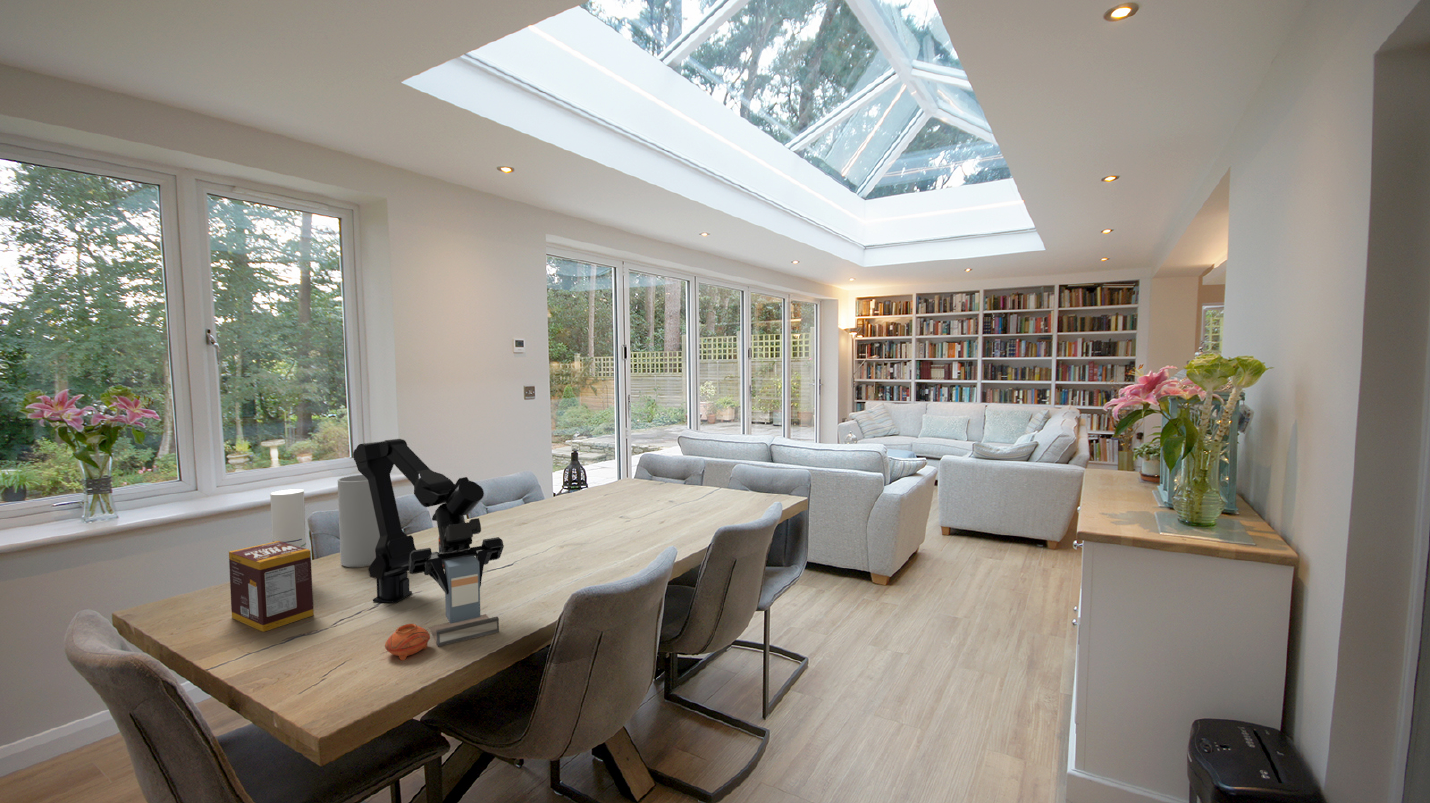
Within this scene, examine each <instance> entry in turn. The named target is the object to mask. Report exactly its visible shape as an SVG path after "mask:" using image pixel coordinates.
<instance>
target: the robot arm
mask: <svg viewBox="0 0 1430 803" xmlns="http://www.w3.org/2000/svg"><path fill="white" fill-rule="evenodd" d="M352 457H353V460H354V462H355V464H356V467H357V471H358V472H359V473H361V474H360V475H363V476H365V477H366V478H367V479H368V483H369V488H370V492H371V497H372V501H373V506H374V511H375V515H376V520H377V525H378V529H379V534H380V538H379V540H378V543H377V545H376V548H375V553H376V558H375V560H374V561H373V562H372V564H371V565H370V566H368V573H369V577H370V578H374V579H375V580H376V597H374V598H373V599H372V602H373V603H375V602H377V603H378V602H379V603H380V602H381V603H398V602H400V601H402V600H404V599H405V598H407V597H409V596H410V595H412V594H413V591H412V590H410V578H409V576H408V573H409V574H411V575H415V574H421V573H423V574H424V576H430V577H431V578H432V580H434V581H435V582H436V583H437V584H438V586H439V587H440V588H441V590H442V591H443V593H444V594H445V593H446V594H448V593H449V590H448V583H447V580H446V577H445V569H444V567H443V565H442V561H445V560H451V559H457V558H463V557H469V556H475V558H476V559H477V560H478V561H479V571H480V587H481V586H482V581H483V573H484V567H485V565H488V564H489V563H490V562H491V561H496V560H499V559H501V555H502V554H503V553H502V552H503V550H504V548H505V545H504V541H503V539H501V538H500V537H491V538H485V539H483V538H482V543H481V545H478V546H472V547H471V545H472V544H473V537H474V535H479V534H480V533H481V532H482V526H481V521H480V517H476V518H470V520H469V522H466V520H465V516H467V515H469V514H470V513H472V511H473V510H474V508H475V507H477V505H478V504H479V503H480V502H481V500H482V499H483V498H484V496H485V492H484V489H483V487H482V486H481V485H480V484H478V483H477V482H475V481H472V480H469V478H468V477H467V476H464V477H459V478H458V479H457V480H456V483H454V482H453V481H452V480H451V478H449V477H447V476H446V475H445V474H443V473H440V472H436V471H434V470H432V469H431V468H430V467H429V466H427V464H425V462H424V461H423V460H422V459H421V458H420V457H419V456H418V455H417V454H416V453H415V452H414V451H413V450H412V449H411V448H410V447H409V446H408V444H407V441H406V440H405V439H402V438H394V439H392V438H391V439H385V440H382V441H375V442H373V441H372V442H367V443H366V442H365V443H360V444H358V445H357V446H356V448H355V449H354V450H353V453H352ZM394 466H395V467H396V468H397V469H398V471H400V472H401V473H402V474H403V475H404V477H406V479H407V480H408V481H409V482H410V483H411V484H412V486H413V495H414V497H415V498H416V500H417V501H418V502H419V503H420V505H421V506H422V507H425V508H430V507H433V506H438V507H437V508H436V510H434V513H433V515H432V517H431V521H433V522H434V521H435V522H436V525H437V528H438V529H437V530H438V538H439V537H440V543H441V549H442V552H440V553H439V551H432V548H431V547H426V548H419V549H417V548H416V546H415V541H414V537H413V535H412V534H411V535H408V534H407V533H405V532H404V531H403V528H402V522H401V520H400V515H399V511H398V505H397V501H396V497H395V491H394V486H393V482H392V478H391V473H392V470H393V468H394Z"/></svg>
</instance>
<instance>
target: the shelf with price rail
mask: <svg viewBox="0 0 1430 803" xmlns="http://www.w3.org/2000/svg"><path fill="white" fill-rule="evenodd" d="M499 620H500V619H499V616H494V617H493V616H492V617H489V616H488V615H487V614H486V613H483V614H480V617H478V618H474V619H469V620H465V621H460V622H456V623H451V624H450V622H449V621H448V622H444V623H440V624H435V625H431V626H428V629H429V632H430V633H431V634H430V635H432V638H433V640H434V643H435V644H436V646H437V648H439V647H443V646H446V645H450V644H456V643H459V642H463V641H467V640H472V639H476V638H481V637H484V636H488V635H492V634H496V633H499V632H500V623H499Z"/></svg>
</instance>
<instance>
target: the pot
mask: <svg viewBox="0 0 1430 803" xmlns="http://www.w3.org/2000/svg"><path fill="white" fill-rule="evenodd" d="M429 632H430V631H428V629H426V628H424V627H423V626H419V625H417V624H415V623H406V624H405V625H401V626H399V627H397V629H396V630H395V631H394V632H393V633H392V634H391V635H390V636H389V637H388V638H387V639H386V640H385V641H386V642H385V643H384V647H385V648H384V649H385V650H386V651H387V652H388V653H390V654H391V655H394V656H398V658H399V659H400V661H404V660H406V659H407V657H409V656H412V655H415V654H417V653H419V652H420V651H421V650H425V649H427V648H428V642H429V641H430V639H431V634H430V633H429Z"/></svg>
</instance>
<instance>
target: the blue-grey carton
mask: <svg viewBox="0 0 1430 803" xmlns="http://www.w3.org/2000/svg"><path fill="white" fill-rule="evenodd" d="M443 569H444V573H445V577H446V580H447V583H448V590H449V593H448V594H446V593H445V592H444V601H445V602H444V603H445V618H446V620H448V622H450V624H451V623H456V622H460V621H465V620H469V619H474V618H478V617H480V615H481V586H480V571H479V561H478V560H477V559H476V557H475V556H469V557H463V558H457V559H451V560H445V561H444V567H443Z"/></svg>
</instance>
